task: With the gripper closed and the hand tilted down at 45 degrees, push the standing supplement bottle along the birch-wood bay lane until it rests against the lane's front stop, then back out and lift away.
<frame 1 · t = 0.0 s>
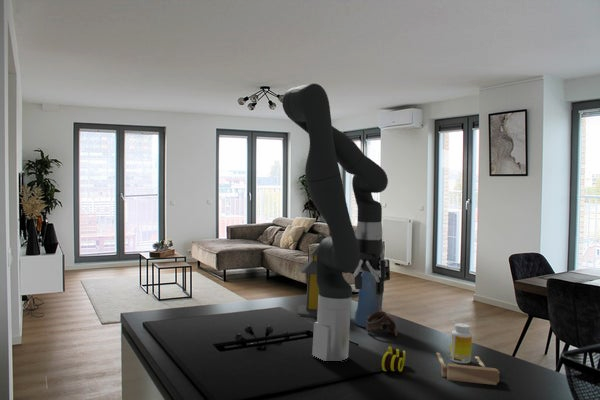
hand: (368, 291, 150), 17 cm above the kitchen counter, tool pointing down, fingers open, 8 cm apart
bay: (467, 374, 134), on the kitchen counter
opera glasses: (393, 369, 136), on the kitchen counter
brown jagged curved piece: (381, 334, 169), on the kitchen counter
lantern: (316, 313, 193), on the kitchen counter
supplement bottle: (460, 361, 145), on the kitchen counter
bottle: (367, 325, 178), on the kitchen counter
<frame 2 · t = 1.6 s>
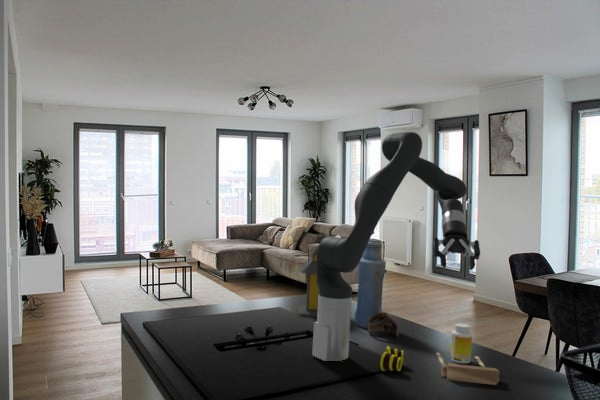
hand: (458, 267, 156), 25 cm above the kitchen counter, tool tilted 45°, fingers open, 7 cm apart
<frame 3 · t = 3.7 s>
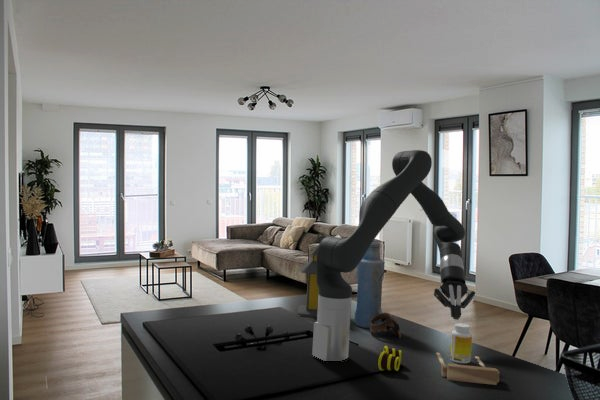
hand: (456, 318, 154), 10 cm above the kitchen counter, tool tilted 45°, fingers closed
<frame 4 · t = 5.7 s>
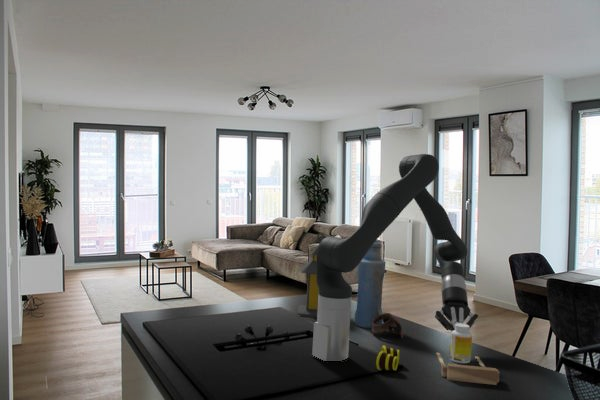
hand: (458, 342, 148), 4 cm above the kitchen counter, tool tilted 45°, fingers closed
supplement bottle: (460, 361, 145), on the kitchen counter, touching gripper
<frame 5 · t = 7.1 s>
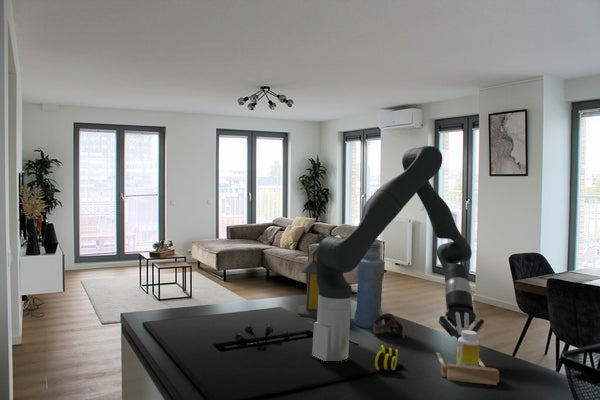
hand: (464, 349, 141), 4 cm above the kitchen counter, tool tilted 45°, fingers closed
supplement bottle: (466, 370, 138), on the kitchen counter, touching gripper
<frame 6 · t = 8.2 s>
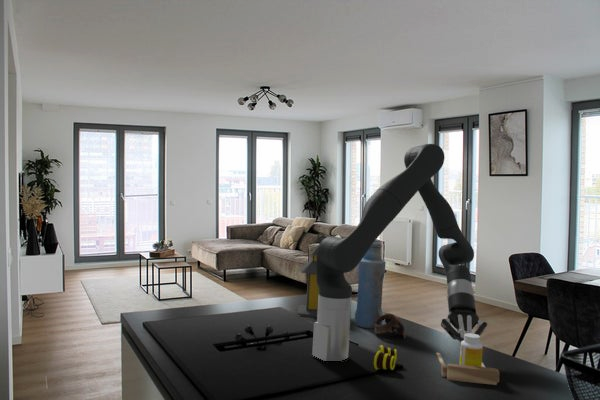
hand: (467, 353, 138), 4 cm above the kitchen counter, tool tilted 45°, fingers closed
supplement bottle: (469, 374, 135), on the kitchen counter, touching gripper
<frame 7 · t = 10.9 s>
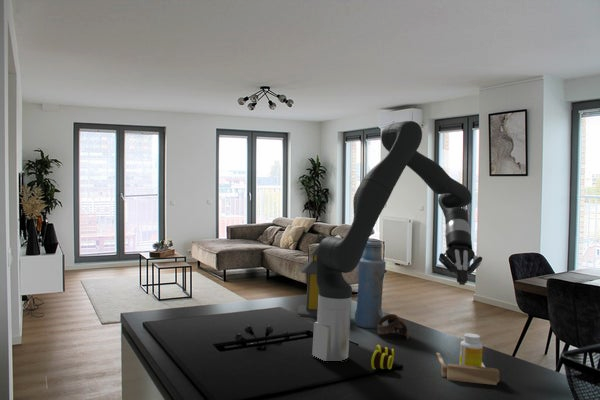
hand: (462, 283, 147), 22 cm above the kitchen counter, tool tilted 45°, fingers closed
supplement bottle: (469, 374, 135), on the kitchen counter
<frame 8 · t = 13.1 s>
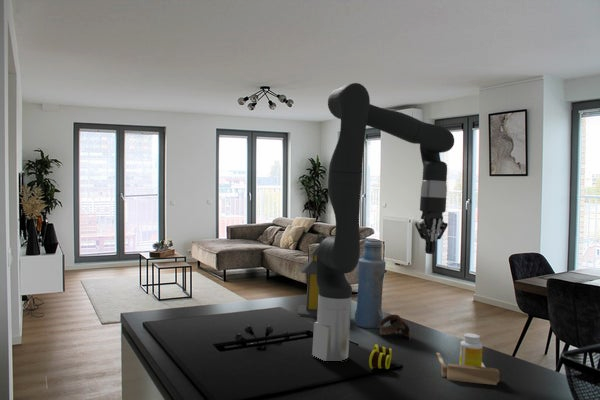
hand: (429, 253, 153), 29 cm above the kitchen counter, tool pointing down, fingers closed
at the end: supplement bottle inside the target area on the bay (1.0 cm from its centre), point 0.0 cm above the bay's base; supplement bottle tilted 0° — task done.
